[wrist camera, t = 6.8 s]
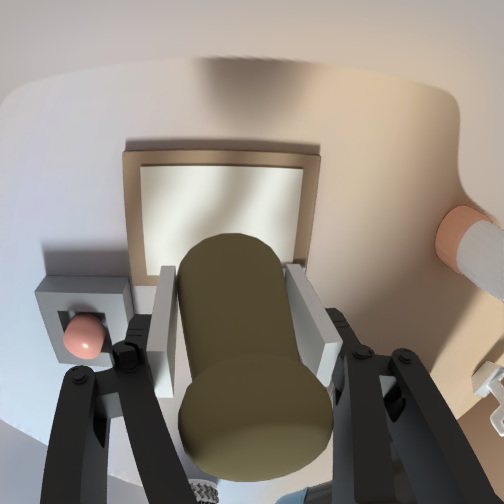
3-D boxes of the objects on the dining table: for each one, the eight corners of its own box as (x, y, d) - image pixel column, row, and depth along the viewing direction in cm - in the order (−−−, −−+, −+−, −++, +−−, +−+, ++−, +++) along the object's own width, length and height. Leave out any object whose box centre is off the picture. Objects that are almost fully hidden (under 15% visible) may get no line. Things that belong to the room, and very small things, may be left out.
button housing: (128, 276, 29) (122, 294, 26) (140, 348, 32) (137, 368, 30) (45, 275, 27) (34, 291, 25) (66, 344, 31) (58, 362, 28)
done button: (101, 313, 27) (95, 329, 25) (109, 344, 29) (104, 360, 27) (66, 311, 27) (58, 327, 25) (75, 342, 28) (69, 357, 26)
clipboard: (317, 154, 26) (323, 157, 25) (301, 279, 31) (305, 286, 30) (124, 151, 24) (120, 153, 23) (134, 281, 29) (131, 289, 28)
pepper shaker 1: (181, 225, 16) (163, 408, 6) (295, 240, 17) (393, 401, 8) (172, 321, 19) (165, 497, 9) (270, 328, 20) (320, 490, 10)
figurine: (502, 355, 48) (542, 403, 34) (472, 389, 50) (507, 439, 37) (492, 348, 45) (537, 400, 32) (459, 385, 48) (498, 440, 35)
